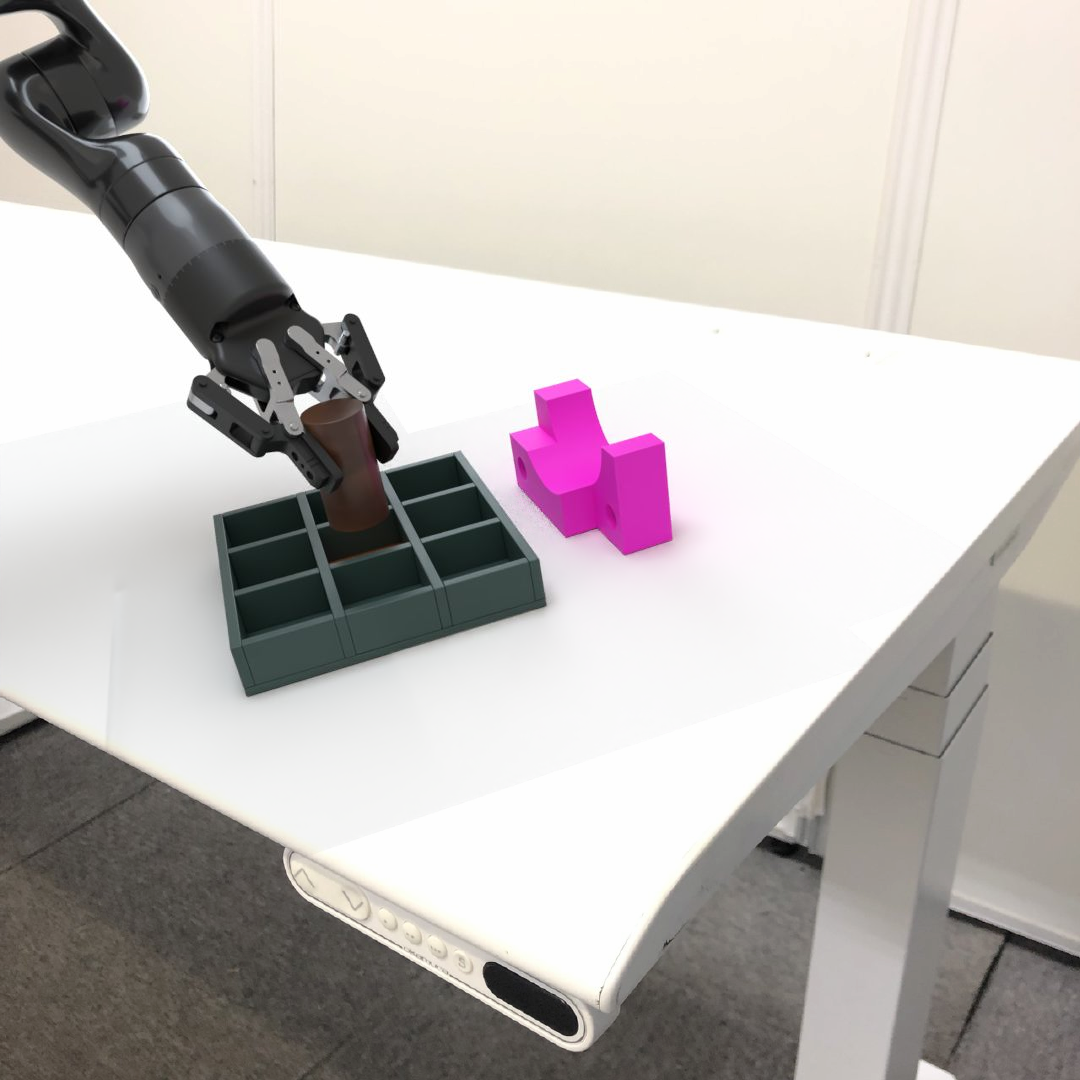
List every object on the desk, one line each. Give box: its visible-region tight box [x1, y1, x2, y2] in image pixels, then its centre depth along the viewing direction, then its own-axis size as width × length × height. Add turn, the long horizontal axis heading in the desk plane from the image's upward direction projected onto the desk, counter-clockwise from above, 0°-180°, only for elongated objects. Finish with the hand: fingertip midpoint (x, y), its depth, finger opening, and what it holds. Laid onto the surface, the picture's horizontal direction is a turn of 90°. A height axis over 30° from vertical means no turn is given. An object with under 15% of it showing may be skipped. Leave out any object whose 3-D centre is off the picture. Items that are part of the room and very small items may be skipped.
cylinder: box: [299, 398, 389, 532], centre depth 69 cm, size 4×4×8 cm
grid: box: [212, 450, 547, 697], centre depth 73 cm, size 20×20×4 cm
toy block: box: [509, 378, 674, 556], centre depth 76 cm, size 15×6×8 cm, turn 21°
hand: (364, 469), depth 68 cm, fingers closed on cylinder, 4 cm apart
